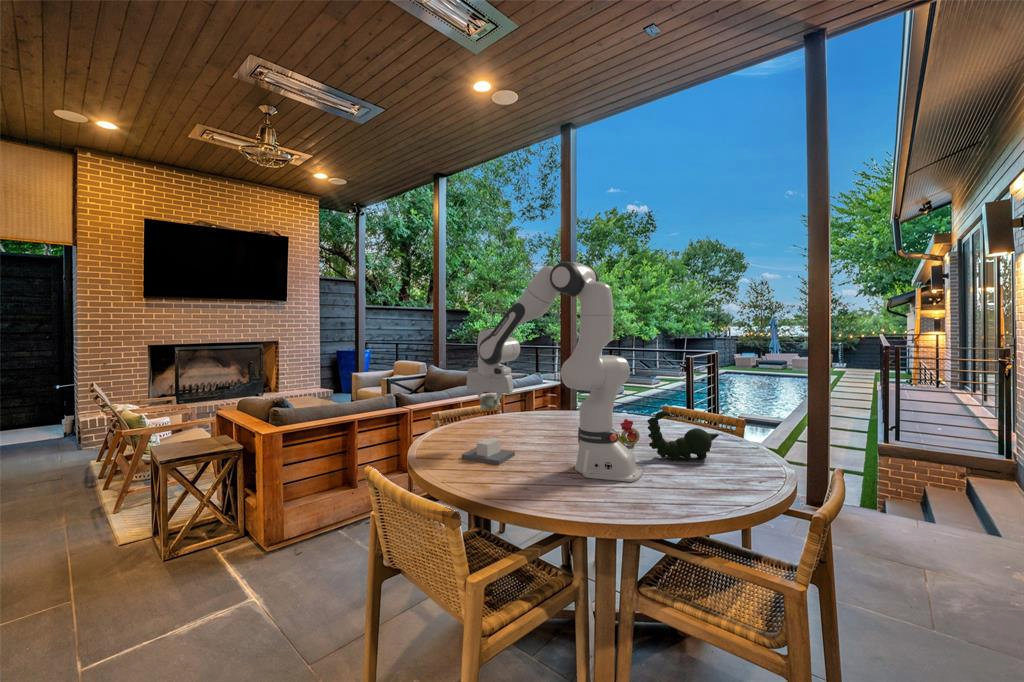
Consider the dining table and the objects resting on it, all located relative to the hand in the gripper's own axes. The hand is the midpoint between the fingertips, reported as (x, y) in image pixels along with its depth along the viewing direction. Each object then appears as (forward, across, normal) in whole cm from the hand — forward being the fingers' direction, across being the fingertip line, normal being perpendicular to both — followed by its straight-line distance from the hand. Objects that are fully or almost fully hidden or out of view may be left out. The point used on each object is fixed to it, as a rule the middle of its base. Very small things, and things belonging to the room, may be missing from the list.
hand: (489, 403), depth 178 cm
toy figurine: (+19, +71, +19) cm, 76 cm away
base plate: (+18, +6, -11) cm, 22 cm away
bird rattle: (+19, +49, +26) cm, 58 cm away
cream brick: (+17, +6, -11) cm, 21 cm away
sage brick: (+2, 0, 0) cm, 2 cm away
